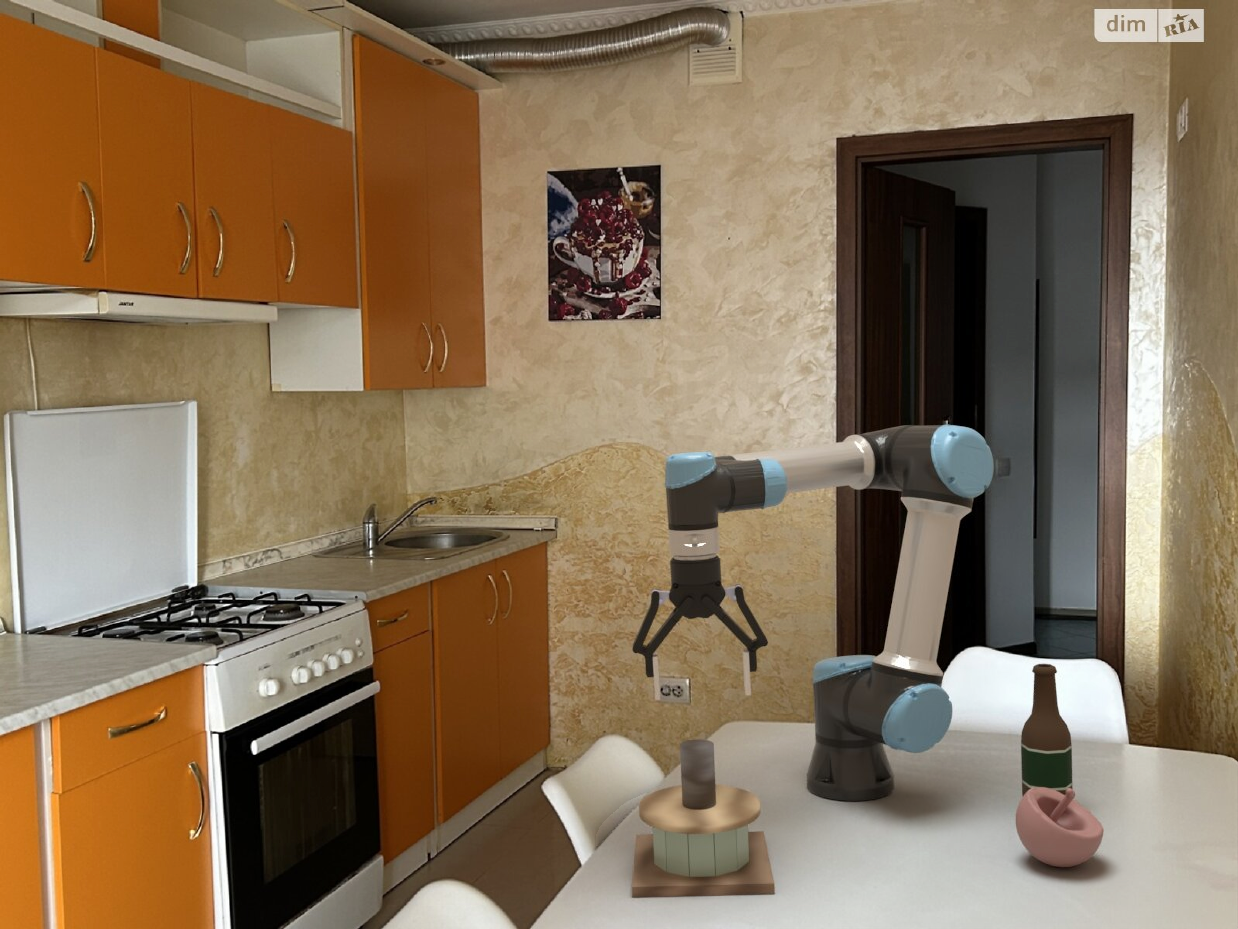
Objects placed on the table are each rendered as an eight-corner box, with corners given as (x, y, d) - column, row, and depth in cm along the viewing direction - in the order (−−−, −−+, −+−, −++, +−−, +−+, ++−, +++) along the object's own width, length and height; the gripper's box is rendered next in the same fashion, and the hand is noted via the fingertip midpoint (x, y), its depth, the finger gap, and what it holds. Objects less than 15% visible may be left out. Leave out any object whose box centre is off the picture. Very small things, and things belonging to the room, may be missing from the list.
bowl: (745, 839, 186) (743, 794, 186) (751, 875, 172) (749, 827, 172) (655, 841, 187) (653, 797, 187) (653, 878, 173) (651, 830, 173)
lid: (756, 790, 188) (753, 725, 187) (764, 832, 170) (762, 761, 169) (640, 793, 189) (638, 729, 188) (637, 835, 171) (634, 765, 170)
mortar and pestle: (1095, 886, 167) (1093, 805, 166) (1007, 871, 173) (1005, 793, 173) (1111, 856, 177) (1109, 780, 177) (1027, 843, 184) (1025, 769, 183)
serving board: (763, 840, 189) (763, 831, 189) (774, 894, 169) (774, 883, 169) (636, 844, 190) (636, 834, 190) (632, 897, 170) (632, 887, 170)
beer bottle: (1048, 822, 192) (1045, 673, 190) (1012, 808, 199) (1008, 664, 197) (1083, 812, 195) (1080, 666, 194) (1046, 799, 202) (1043, 657, 201)
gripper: (610, 564, 177) (619, 706, 178) (781, 555, 176) (788, 697, 178) (612, 557, 184) (620, 693, 186) (775, 547, 184) (782, 684, 185)
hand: (702, 695), depth 182 cm, fingers open, 13 cm apart
